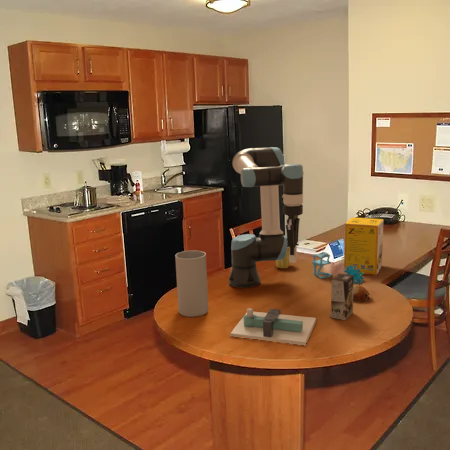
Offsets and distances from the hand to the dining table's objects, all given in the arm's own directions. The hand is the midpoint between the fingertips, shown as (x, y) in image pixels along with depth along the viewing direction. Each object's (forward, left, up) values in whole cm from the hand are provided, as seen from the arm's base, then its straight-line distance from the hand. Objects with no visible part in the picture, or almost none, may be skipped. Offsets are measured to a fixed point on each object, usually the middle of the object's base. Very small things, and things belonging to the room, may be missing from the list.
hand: (292, 261), depth 203 cm
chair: (+3, +52, -23) cm, 57 cm away
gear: (+20, +46, -23) cm, 55 cm away
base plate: (-4, -16, -22) cm, 28 cm away
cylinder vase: (-41, -8, -23) cm, 47 cm away
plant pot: (-19, +62, -23) cm, 69 cm away
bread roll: (+23, +25, -23) cm, 41 cm away
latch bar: (-4, -18, -21) cm, 28 cm away
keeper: (-4, -20, -21) cm, 29 cm away
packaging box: (+22, +68, -23) cm, 75 cm away
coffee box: (+19, +4, -23) cm, 30 cm away
